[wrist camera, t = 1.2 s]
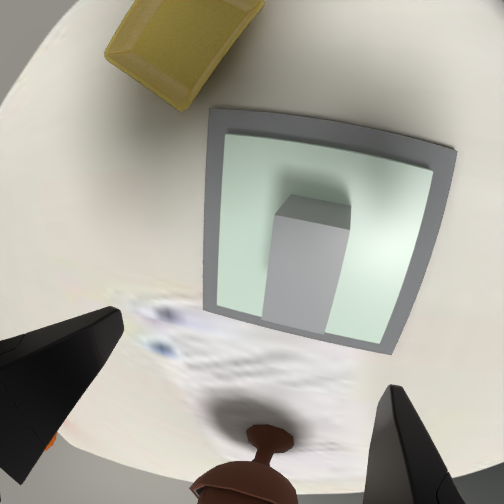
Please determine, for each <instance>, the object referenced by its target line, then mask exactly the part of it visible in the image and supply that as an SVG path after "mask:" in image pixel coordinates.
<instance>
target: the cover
mask: <svg viewBox="0 0 504 504" xmlns="http://www.w3.org/2000/svg"><path fill="white" fill-rule="evenodd" d="M432 176H433V171H432V170H431V169H428V168H424V167H420V166H416V165H413V164H409V163H405V162H401V161H396V160H392V159H388V158H384V157H379V156H375V155H370V154H365V153H360V152H356V151H351V150H345V149H340V148H335V147H329V146H323V145H317V144H311V143H305V142H298V141H291V140H284V139H277V138H269V137H261V136H252V135H242V134H232V133H229V134H225V144H224V159H223V175H222V192H221V211H220V232H219V256H218V283H217V305H218V306H222V307H226V308H229V309H233V310H237V311H240V312H244V313H248V314H252V315H256V316H260V317H262V318H261V320H265V321H269V322H273V323H277V324H281V325H285V326H289V327H293V328H297V329H302V330H306V331H310V332H314V333H319V334H323V335H324V333H325V332H326V333H331V334H335V335H340V336H344V337H349V338H354V339H359V340H363V341H368V342H373V343H378V344H380V342H381V339H382V337H383V334H384V332H385V329H386V327H387V325H388V322H389V319H390V317H391V314H392V312H393V309H394V306H395V304H396V301H397V298H398V296H399V293H400V290H401V287H402V284H403V281H404V278H405V275H406V272H407V269H408V266H409V263H410V260H411V257H412V254H413V250H414V247H415V244H416V240H417V237H418V233H419V229H420V226H421V222H422V218H423V214H424V211H425V207H426V202H427V198H428V194H429V190H430V185H431V181H432Z"/></svg>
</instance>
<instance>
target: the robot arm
mask: <svg viewBox="0 0 504 504" xmlns="http://www.w3.org/2000/svg"><path fill="white" fill-rule="evenodd" d="M123 332H124V324H123V319H122V314H121V311H120V310H119V309H117V308H115V307H112V306H108V307H105V308H102V309H99V310H96V311H93V312H90V313H87V314H84V315H81V316H78V317H75V318H71V319H68V320H65V321H62V322H59V323H56V324H53V325H50V326H47V327H44V328H41V329H37V330H34V331H31V332H28V333H26V334H22V335H19V336H16V337H12V338H9V339H5V340H1V341H0V468H2V469H3V470H4V471H5V472H6V473H7V474H8V475H9V476H10V477H12V478H13V479H14V480H15V481H16V482H18V483H19V484H20V485H21V484H23V482H24V481H25V479H26V477H27V476H28V474H29V473H30V471H31V470H32V468H33V467H34V465H35V464H36V462H37V461H38V459H39V458H40V456H41V455H42V453H43V452H44V450H45V449H46V446H47V445H48V444H49V442H50V441H51V439H52V438H53V436H54V435H55V434H56V432H57V431H58V429H59V428H60V426H61V425H62V423H63V422H64V420H65V419H66V418H67V416H68V415H69V413H70V412H71V410H72V409H73V408H74V406H75V405H76V403H77V402H78V401H79V399H80V398H81V396H82V395H83V394H84V392H85V391H86V389H87V388H88V387H89V385H90V384H91V382H92V381H93V380H94V378H95V377H96V376H97V374H98V373H99V372H100V370H101V369H102V367H103V366H104V364H105V363H106V361H107V360H108V358H109V356H110V354H111V353H112V351H113V349H114V348H115V346H116V344H117V343H118V341H119V339H120V338H121V336H122V334H123ZM447 471H448V470H447V468H446V466H445V464H444V462H443V460H442V458H441V456H440V454H439V452H438V450H437V448H436V446H435V445H434V443H433V441H432V439H431V437H430V435H429V433H428V432H427V430H426V428H425V426H424V424H423V422H422V421H421V419H420V417H419V415H418V413H417V412H416V410H415V408H414V406H413V405H412V403H411V401H410V399H409V398H408V396H407V394H406V392H405V391H404V389H403V387H401V386H398V385H392V384H391V385H389V386H388V387H387V388H386V390H385V392H384V394H383V395H382V397H381V399H380V401H379V403H378V406H377V411H376V417H375V423H374V428H373V433H372V438H371V443H370V449H369V456H368V466H367V476H366V484H365V492H364V499H363V504H466V503H465V501H464V499H463V498H462V496H461V494H460V493H459V491H458V489H457V487H456V485H455V483H454V481H453V479H452V477H451V475H450V473H449V472H447ZM0 502H1V498H0Z"/></svg>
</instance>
